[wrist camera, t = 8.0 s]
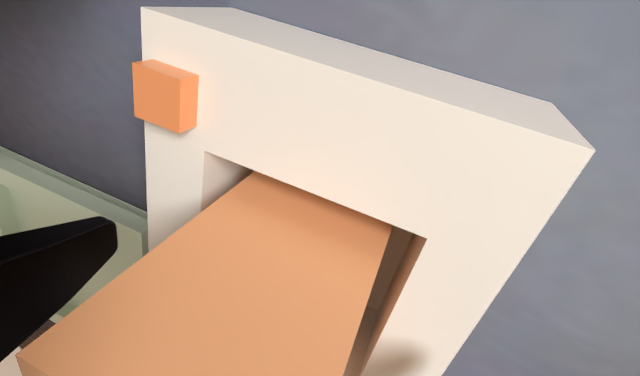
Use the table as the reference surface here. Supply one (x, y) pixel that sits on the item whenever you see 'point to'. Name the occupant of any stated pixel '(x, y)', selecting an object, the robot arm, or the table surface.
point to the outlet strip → (357, 162)
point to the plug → (229, 294)
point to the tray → (67, 215)
